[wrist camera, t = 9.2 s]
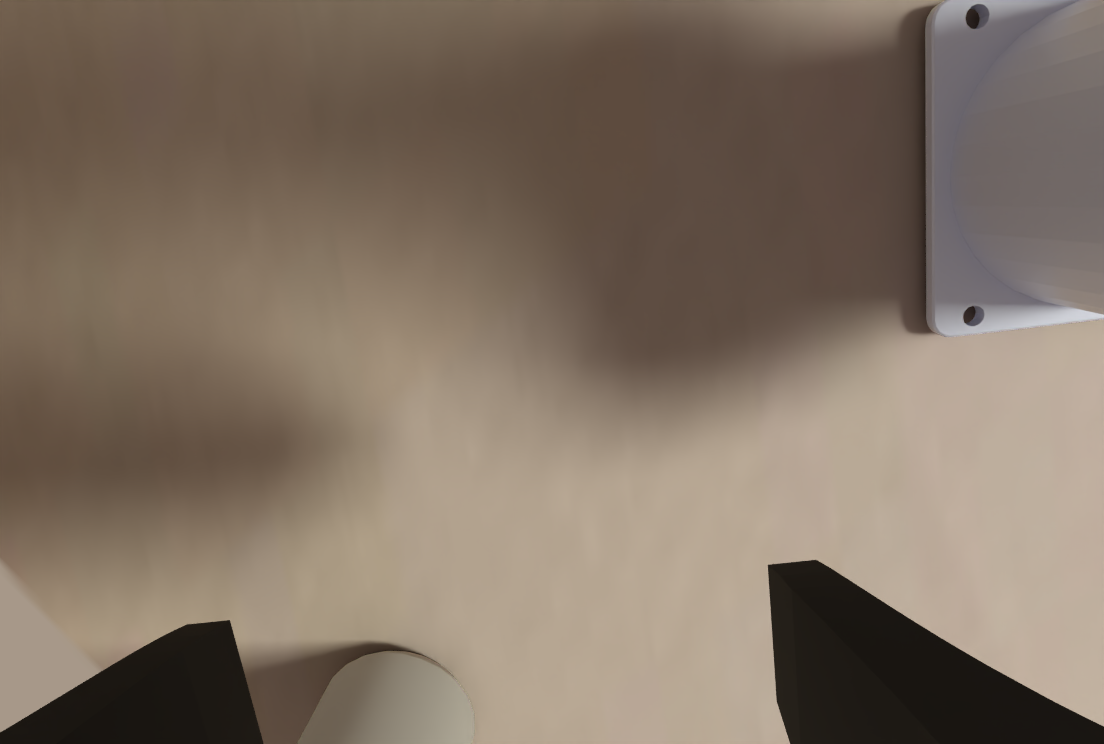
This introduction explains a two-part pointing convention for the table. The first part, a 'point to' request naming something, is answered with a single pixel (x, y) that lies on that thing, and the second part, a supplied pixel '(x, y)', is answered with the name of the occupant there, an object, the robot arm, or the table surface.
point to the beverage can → (392, 704)
